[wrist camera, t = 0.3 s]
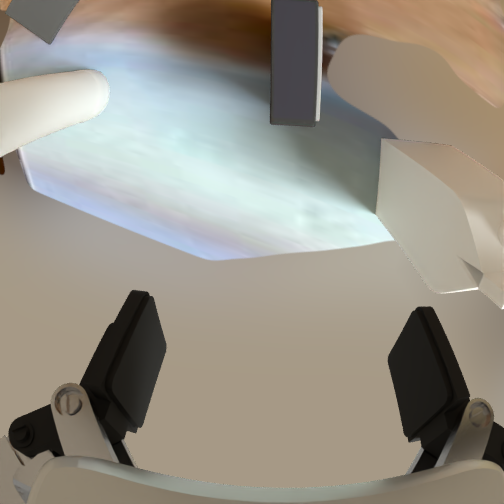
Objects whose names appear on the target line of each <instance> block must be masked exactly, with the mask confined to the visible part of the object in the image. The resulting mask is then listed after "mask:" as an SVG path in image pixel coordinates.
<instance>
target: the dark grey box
mask: <svg viewBox="0 0 504 504" xmlns="http://www.w3.org/2000/svg"><path fill="white" fill-rule="evenodd" d="M321 75H322V7H319V6H318V1H317V0H271V92H270V124H272V125H291V126H307V127H314V126H315V123H316V121H319V117H320V100H321Z"/></svg>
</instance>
